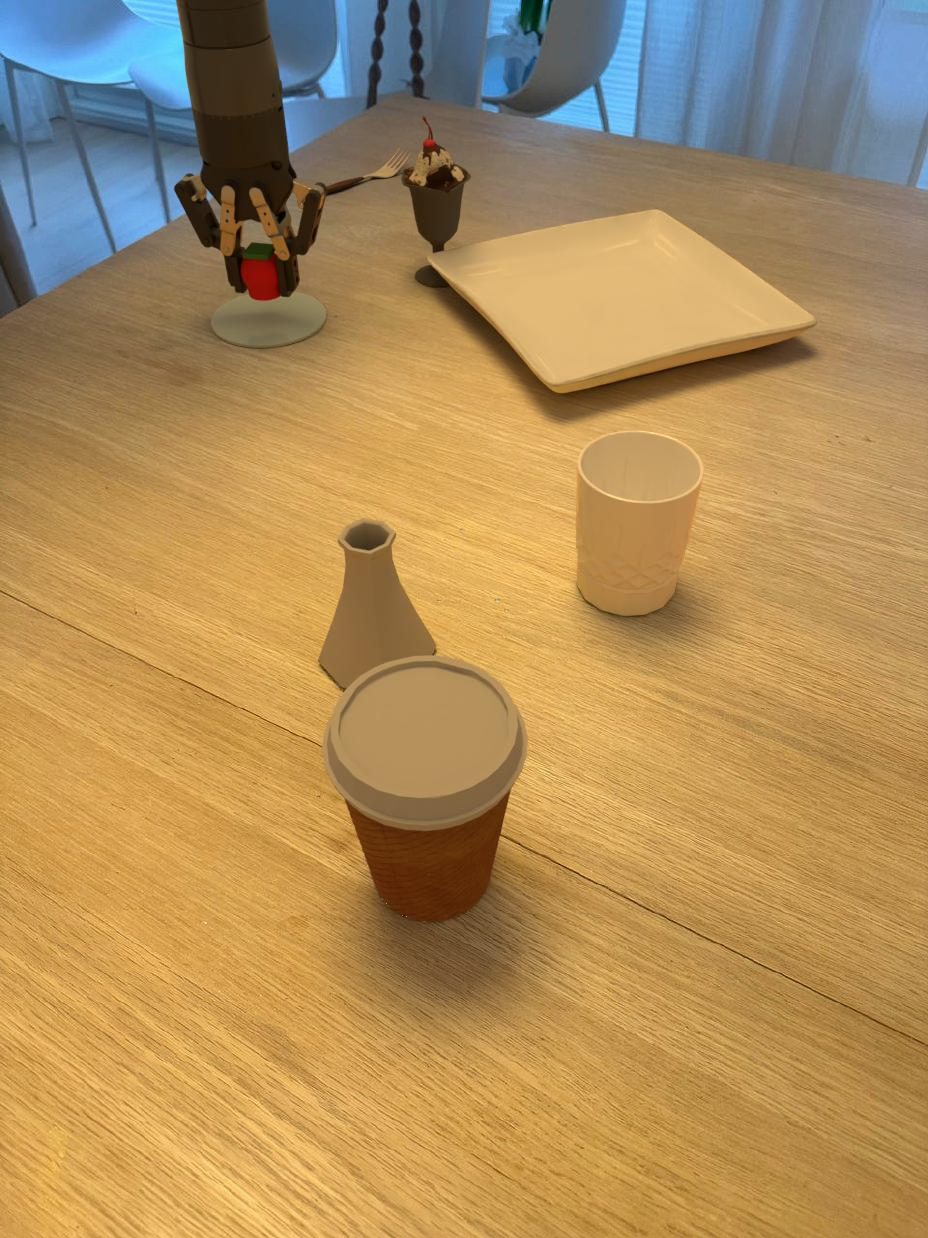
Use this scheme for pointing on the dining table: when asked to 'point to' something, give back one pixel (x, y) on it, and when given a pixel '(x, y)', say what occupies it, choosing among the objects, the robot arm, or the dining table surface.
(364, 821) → the disposable coffee cup
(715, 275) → the square plate
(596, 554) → the white cup
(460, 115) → the dining table surface
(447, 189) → the sundae
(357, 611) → the flask
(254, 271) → the strawberry
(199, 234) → the robot arm
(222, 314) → the saucer
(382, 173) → the fork
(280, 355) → the dining table surface
